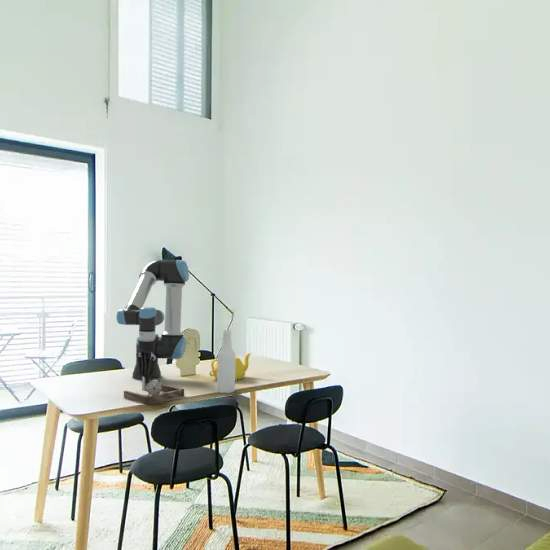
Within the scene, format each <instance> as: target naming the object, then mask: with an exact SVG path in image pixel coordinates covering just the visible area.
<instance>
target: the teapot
mask: <svg viewBox="0 0 550 550" xmlns="http://www.w3.org/2000/svg"><path fill="white" fill-rule="evenodd" d="M251 355H252V352H249V353H247V354H246V355H245V357H244V360H243V361H244V362H242V360H241V359H240V357H239V356H236V363H235V380H236V379H241V378H242V379H243V378H244V377H245V376H246V371H247V370H248V369H249V359H250V356H251ZM215 362H216V363H215ZM210 363H211V364H210V366H211V371H210V372H209V376H210V377H214V378H215V379H216V380H217V365H218V358H215V359H213V360H212V361H211V362H210ZM214 364H215V365H214ZM242 379H241V380H242ZM236 381H237V380H236Z"/></svg>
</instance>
